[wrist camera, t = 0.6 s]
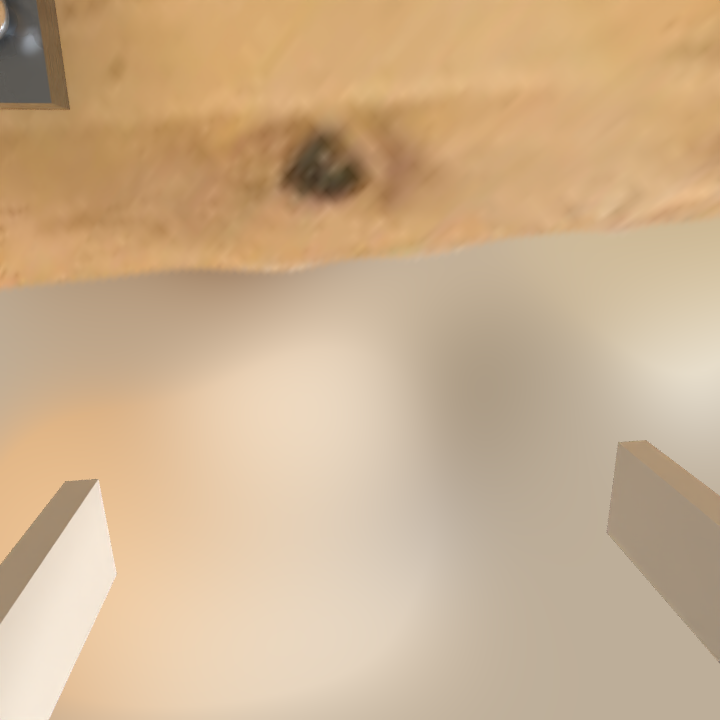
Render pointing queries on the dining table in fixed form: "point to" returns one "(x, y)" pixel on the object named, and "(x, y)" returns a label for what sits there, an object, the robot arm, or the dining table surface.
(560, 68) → the dining table surface
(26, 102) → the plate
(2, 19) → the steel ball
